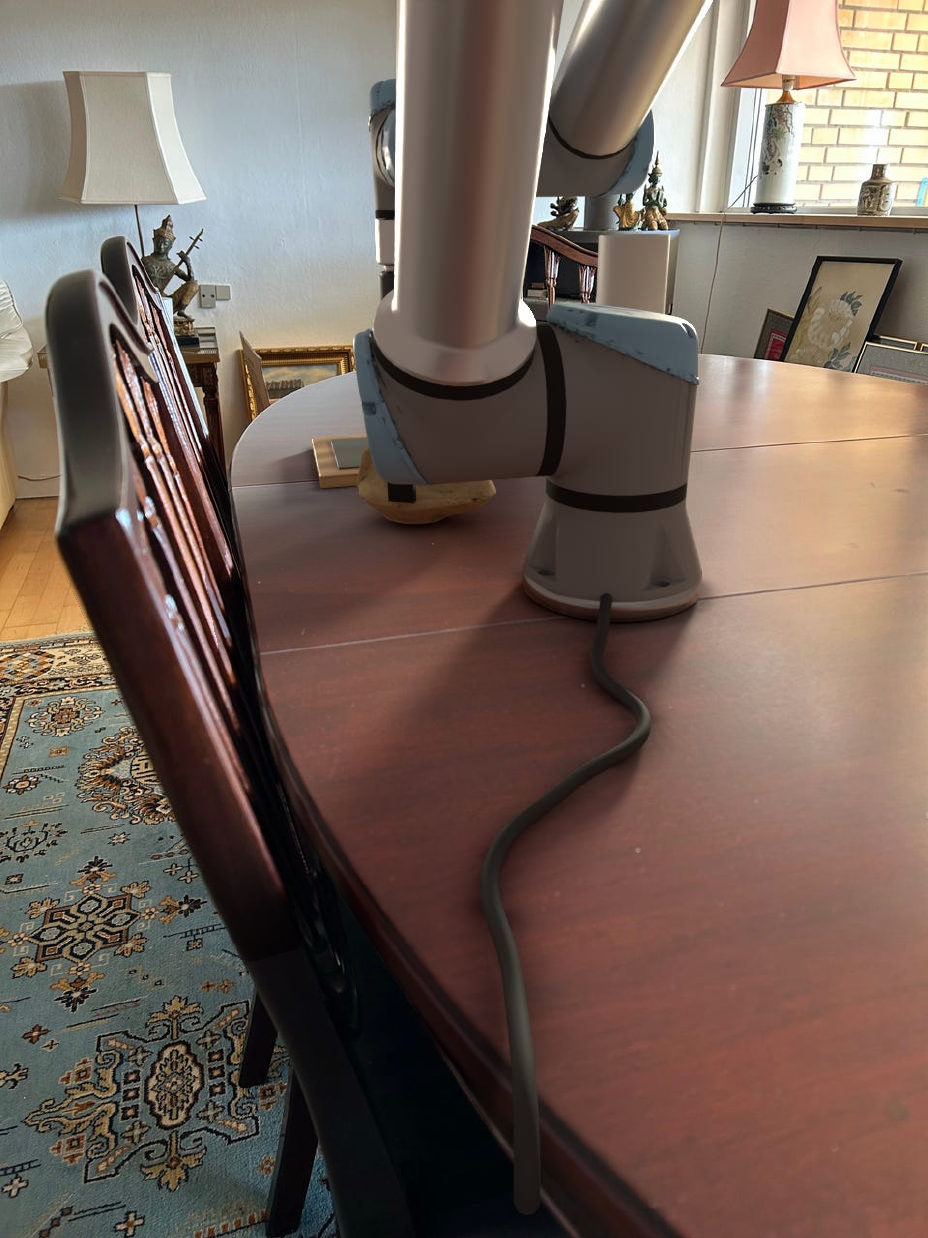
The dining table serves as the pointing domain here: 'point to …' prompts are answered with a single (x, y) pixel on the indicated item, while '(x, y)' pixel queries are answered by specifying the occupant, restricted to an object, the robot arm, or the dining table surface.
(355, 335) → the robot arm
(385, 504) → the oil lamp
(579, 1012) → the dining table surface
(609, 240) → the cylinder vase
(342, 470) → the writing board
